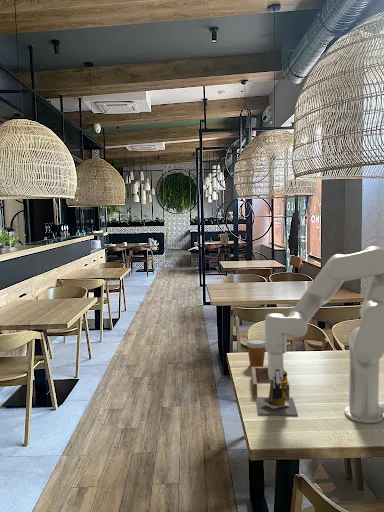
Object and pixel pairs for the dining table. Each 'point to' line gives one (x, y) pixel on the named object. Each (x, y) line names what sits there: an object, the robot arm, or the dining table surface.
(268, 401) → the condiment
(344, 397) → the dining table surface
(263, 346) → the disposable coffee cup
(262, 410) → the mat
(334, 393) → the dining table surface
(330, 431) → the dining table surface
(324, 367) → the dining table surface
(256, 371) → the frame
